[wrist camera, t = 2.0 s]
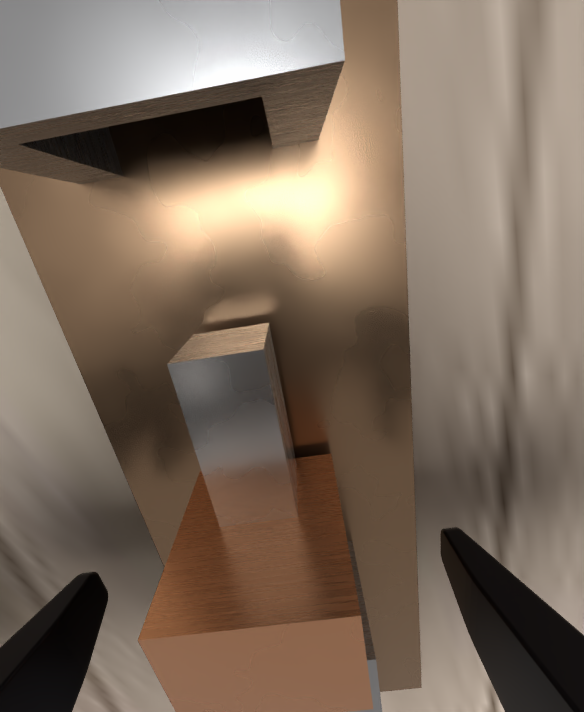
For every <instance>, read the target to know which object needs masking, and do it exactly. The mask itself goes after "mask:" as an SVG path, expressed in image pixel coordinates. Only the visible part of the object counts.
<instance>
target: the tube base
mask: <svg viewBox="0 0 584 712" xmlns="http://www.w3.org/2000/svg"><path fill="white" fill-rule="evenodd" d="M0 187H1V189H2V191H3V194H4V196H5V198H6V201H7V203H8V205H9V207H10V210H11V212H12V214H13V217H14V219H15V221H16V224H17V226H18V228H19V231H20V233H21V235H22V238H23V240H24V242H25V245H26V247H27V249H28V252H29V254H30V256H31V259H32V261H33V263H34V265H35V268H36V270H37V272H38V275H39V277H40V279H41V282H42V284H43V286H44V289H45V291H46V293H47V296H48V298H49V300H50V303H51V305H52V307H53V310H54V312H55V314H56V317H57V319H58V321H59V324H60V326H61V328H62V330H63V333H64V335H65V337H66V340H67V342H68V344H69V347H70V349H71V351H72V354H73V356H74V358H75V361H76V363H77V365H78V368H79V370H80V372H81V375H82V377H83V379H84V382H85V384H86V386H87V389H88V391H89V393H90V395H91V398H92V400H93V402H94V405H95V407H96V409H97V412H98V414H99V416H100V419H101V421H102V423H103V426H104V428H105V430H106V433H107V435H108V437H109V440H110V442H111V444H112V447H113V449H114V451H115V454H116V456H117V458H118V460H119V463H120V465H121V467H122V470H123V472H124V474H125V477H126V479H127V481H128V484H129V486H130V488H131V491H132V493H133V495H134V498H135V500H136V502H137V505H138V507H139V509H140V512H141V514H142V516H143V519H144V521H145V523H146V525H147V528H148V530H149V532H150V535H151V537H152V539H153V542H154V544H155V546H156V549H157V551H158V553H159V556H160V558H161V560H162V563H163V565H164V567H165V565H166V562H167V560H168V557H169V554H170V551H171V549H172V546H173V543H174V541H175V538H176V535H177V532H178V530H179V527H180V524H181V521H182V519H183V516H184V513H185V511H186V508H187V505H188V502H189V500H190V497H191V494H192V491H193V489H194V486H195V483H196V481H197V478H198V475H199V472H200V471H201V468H200V465H199V461H198V458H197V455H196V452H195V449H194V446H193V443H192V440H191V437H190V434H189V431H188V427H187V424H186V421H185V418H184V415H183V412H182V409H181V406H180V403H179V400H178V397H177V393H176V390H175V387H174V384H173V381H172V378H171V375H170V372H169V369H168V366H167V364H168V363H169V361H170V360H171V359H172V358H173V357H174V356H175V355H176V354H177V352H178V351H179V350H180V349H181V348H182V347H183V346H184V345H185V343H186V342H187V341H188V340H189V339H190V338H191V337H192V336H193V335H194V334H200V333H206V332H213V331H219V330H225V329H232V328H238V327H244V326H250V325H257V324H263V323H269V325H270V330H271V335H272V340H273V345H274V351H275V356H276V361H277V366H278V371H279V377H280V382H281V387H282V392H283V397H284V402H285V408H286V413H287V418H288V423H289V428H290V433H291V439H292V444H293V449H294V454H295V458H302V457H309V456H317V455H324V454H331V455H332V460H333V466H334V471H335V477H336V482H337V488H338V493H339V499H340V504H341V509H342V515H343V520H344V526H345V531H346V537H347V542H348V548H349V553H350V558H351V564H352V569H353V575H354V580H355V586H356V591H357V597H358V602H359V607H360V613H361V619H362V627H363V634H364V642H365V649H366V657H367V664H368V672H369V679H370V687H371V694H372V702H373V709H370V710H360V711H350V712H382V706H381V698H380V692H382V691H392V690H402V689H413V688H421V660H420V631H419V603H418V574H417V546H416V517H415V489H414V460H413V431H412V403H411V374H410V346H409V317H408V289H407V260H406V232H405V203H404V175H403V146H402V117H401V89H400V60H399V32H398V3H397V0H0Z"/></svg>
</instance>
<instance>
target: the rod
mask: <svg viewBox="0 0 584 712" xmlns="http://www.w3.org/2000/svg"><path fill="white" fill-rule="evenodd" d="M167 366H168V369H169V372H170V375H171V378H172V381H173V384H174V387H175V390H176V393H177V397H178V400H179V403H180V406H181V409H182V412H183V415H184V418H185V421H186V424H187V427H188V431H189V434H190V437H191V440H192V443H193V446H194V449H195V452H196V455H197V458H198V461H199V465H200V468H201V471H200V472H199V475H198V478H197V481H196V483H195V486H194V489H193V491H192V494H191V497H190V500H189V502H188V505H187V508H186V511H185V513H184V516H183V519H182V521H181V524H180V527H179V530H178V532H177V535H176V538H175V541H174V543H173V546H172V549H171V551H170V554H169V557H168V560H167V562H166V565H165V568H164V570H163V573H162V576H161V579H160V581H159V584H158V587H157V590H156V592H155V595H154V598H153V600H152V603H151V606H150V609H149V611H148V614H147V617H146V620H145V622H144V625H143V628H142V630H141V633H140V636H139V639H138V642H139V644H140V646H141V647H142V649H143V651H144V653H145V655H146V657H147V659H148V661H149V662H150V664H151V666H152V668H153V670H154V672H155V674H156V676H157V677H158V679H159V681H160V683H161V685H162V687H163V689H164V691H165V692H166V694H167V696H168V698H169V700H170V702H171V704H172V706H173V707H174V709H175V711H176V712H350V711H360V710H370V709H373V702H372V694H371V687H370V679H369V672H368V664H367V657H366V649H365V642H364V634H363V627H362V619H361V613H360V607H359V602H358V597H357V591H356V586H355V580H354V575H353V569H352V564H351V558H350V553H349V548H348V542H347V537H346V531H345V526H344V520H343V515H342V509H341V504H340V499H339V493H338V488H337V482H336V477H335V471H334V466H333V460H332V455H331V454H324V455H317V456H309V457H302V458H295V454H294V449H293V444H292V439H291V433H290V428H289V423H288V418H287V413H286V408H285V402H284V397H283V392H282V387H281V382H280V377H279V371H278V366H277V361H276V356H275V351H274V345H273V340H272V335H271V330H270V325H269V323H263V324H257V325H250V326H244V327H238V328H232V329H225V330H219V331H213V332H206V333H200V334H194V335H193V336H192V337H191V338H190V339H189V340H188V341H187V342H186V343H185V345H184V346H183V347H182V348H181V349H180V350H179V351H178V352H177V354H176V355H175V356H174V357H173V358H172V359H171V360H170V361H169V363H168V364H167Z"/></svg>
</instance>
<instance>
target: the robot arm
mask: <svg viewBox="0 0 584 712" xmlns="http://www.w3.org/2000/svg"><path fill="white" fill-rule="evenodd" d="M441 557H442V561H443V564H444V567H445V569H446V572H447V575H448V578H449V580H450V583H451V586H452V589H453V591H454V594H455V597H456V600H457V602H458V605H459V608H460V611H461V614H462V616H463V619H464V622H465V624H466V627H467V630H468V632H469V635H470V637H471V639H472V641H473V644H474V646H475V648H476V650H477V652H478V655H479V657H480V659H481V661H482V663H483V665H484V667H485V670H486V672H487V674H488V676H489V678H490V680H491V682H492V685H493V687H494V689H495V691H496V693H497V695H498V697H499V700H500V702H501V704H502V706H503V708H504V710H505V712H584V635H583V634H582V633H580V632H579V631H578V630H577V629H576V628H575V627H573V626H572V625H571V624H570V623H569V622H568V621H567V620H565V619H564V618H563V617H562V616H561V615H560V614H558V613H557V612H556V611H555V610H554V609H553V608H551V607H550V606H549V605H548V604H547V603H546V602H544V601H543V600H542V599H541V598H540V597H539V596H537V595H536V594H535V593H534V592H533V591H532V590H531V589H529V588H528V587H527V586H526V585H525V584H524V583H522V582H521V581H520V580H519V579H518V578H517V577H515V576H514V575H513V574H512V573H511V572H510V571H508V570H507V569H506V568H505V567H504V566H503V565H501V564H500V563H499V562H498V561H497V560H496V559H495V558H493V557H492V556H491V555H490V554H489V553H488V552H486V551H485V550H484V549H483V548H482V547H481V546H479V545H478V544H477V543H476V542H475V541H474V540H472V539H471V538H470V537H469V536H468V535H467V534H465V533H464V532H463V531H462V530H461V529H459V528H456V527H454V528H446V529H442V531H441ZM107 602H108V591H107V589H106V587H105V585H104V584H103V582H102V580H101V578H100V576H99V574H98V573H96V572H89V573H82V574H80V575H78V576H77V577H76V578H74V579H73V580H72V581H71V582H70V583H69V584H68V585H67V586H66V587H65V588H64V589H63V590H62V591H61V592H59V593H58V594H57V595H56V596H55V597H54V598H53V599H52V600H51V601H50V602H49V603H48V604H47V605H46V606H44V607H43V608H42V609H41V610H40V611H39V612H38V613H37V614H36V615H35V616H34V617H33V618H32V619H31V620H29V621H28V622H27V623H26V624H25V625H24V626H23V627H22V628H21V629H20V630H19V631H18V632H17V633H16V634H14V635H13V636H12V637H11V638H10V639H9V640H8V641H7V642H6V643H5V644H4V645H3V646H2V647H1V648H0V712H72V710H73V708H74V705H75V702H76V700H77V697H78V694H79V692H80V689H81V686H82V684H83V681H84V678H85V675H86V672H87V669H88V666H89V663H90V660H91V656H92V653H93V650H94V646H95V643H96V640H97V636H98V633H99V629H100V626H101V623H102V619H103V616H104V612H105V609H106V606H107Z"/></svg>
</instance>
